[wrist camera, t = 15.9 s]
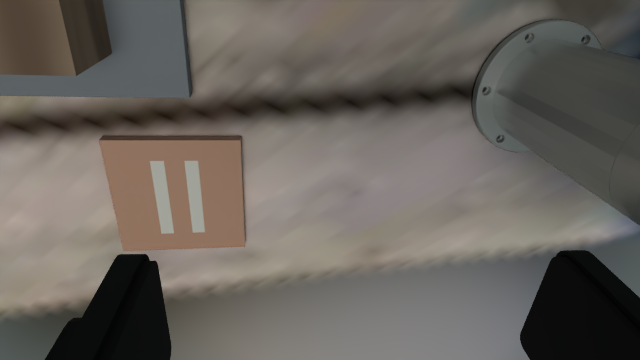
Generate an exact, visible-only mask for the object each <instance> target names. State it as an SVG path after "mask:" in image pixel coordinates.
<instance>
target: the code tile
mask: <svg viewBox="0 0 640 360" xmlns="http://www.w3.org/2000/svg"><path fill="white" fill-rule="evenodd" d="M99 143H100V147H101V152H102V156H103V161H104V165H105V170H106V174H107V179H108V183H109V188H110V192H111V197H112V201H113V206H114V210H115V215H116V219H117V224H118V228H119V233H120V237H121V242H122V246H123V251H140V250H166V249H193V248H220V247H245V222H244V198H243V174H242V149H241V136H103V137H102V138H101V139H100V140H99Z"/></svg>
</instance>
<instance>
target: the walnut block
mask: <svg viewBox="0 0 640 360" xmlns="http://www.w3.org/2000/svg"><path fill="white" fill-rule="evenodd" d="M111 54H112V49H111V44H110V38H109V33H108V27H107V22H106V16H105V11H104V5H103V0H0V74H2V75H47V76H77V75H79V74H81V73H82V72H84V71H85V70H87V69H89V68H90V67H92V66H93V65H95V64H97V63H98V62H100V61H101V60H103V59H105V58H106V57H108V56H109V55H111Z"/></svg>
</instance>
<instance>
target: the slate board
mask: <svg viewBox="0 0 640 360" xmlns="http://www.w3.org/2000/svg"><path fill="white" fill-rule="evenodd" d="M103 5H104V11H105V16H106V22H107V27H108V33H109V38H110V44H111V49H112V54H111V55H109V56H108V57H106V58H105V59H103V60H101V61H100V62H98V63H97V64H95V65H93V66H92V67H90V68H89V69H87V70H85V71H84V72H82V73H81V74H79V75H77V76H47V75H2V74H0V96H64V97H135V98H190V96H191V94H192V86H191V76H190V66H189V55H188V45H187V35H186V25H185V14H184V4H183V0H103Z"/></svg>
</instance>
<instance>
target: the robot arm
mask: <svg viewBox="0 0 640 360" xmlns="http://www.w3.org/2000/svg"><path fill="white" fill-rule="evenodd" d="M525 36H526V37H525ZM483 88H484V89H483ZM472 108H473V116H474V119H475V122H476V125H477V127H478V129H479V130H480V132H481V134H482V135H484V136H485V137H486V138H487V139H488V140H489V141H490V142H491V143H492V144H494V145H495V146H497V147H499V148H501V149H504V150H507V151H512V152H530V151H533V152H534V153H536V154H537V155H539V156H540V157H542V158H543V159H544V160H546V161H547V162H549V163H550V164H552V165H553V166H554V167H556V168H557V169H559V170H560V171H562V172H563V173H565V174H566V175H567V176H569V177H570V178H572V179H573V180H575V181H576V182H577V183H579V184H580V185H582V186H583V187H585V188H586V189H588V190H589V191H590V192H592V193H593V194H595V195H596V196H598V197H599V198H600V199H602V200H603V201H605V202H606V203H608V204H609V205H611V206H612V207H613V208H615V209H616V210H618V211H619V212H621V213H622V214H624V215H625V216H627V217H628V218H630V219H631V220H633V221H634V222H636V223H637V224H639V225H640V59H636V58H633V57H629V56H625V55H621V54H617V53H613V52H609V51H605V50H602V47H601V44H600V42H599V41H598V39H597V38H596V36H595V35H594V34H593V33H592V32H591V31H590V30H589V29H587V28H586V27H585V26H582V25H580V24H578V23H576V22H571V21H567V20H557V19H549V20H543V21H538V22H535V23H532V24H530V25H527V26H525V27H523V28H521V29H519V30H518V31H516V32H514V33H512V34H511V35H510V36H509V37H508V38H506V39H505V40H504V41H503V42H501V43H500V44H499V46H498V47H497V48H496V49H495V50H494V51H493V52H492V53H491V55H490V56H489V57H488V59H487V60H486V62H485V63H484V65H483V67H482V69H481V71H480V73H479V75H478V77H477V80H476V84H475V87H474V91H473V99H472ZM520 340H521V344H522V347H523V349H524V351H525V352H526V354H527V355H528V357H529V359H530V360H640V298H639V297H638V296H637V295H636V294H635V293H634V292H633V291H632V290H631V289H630V288H628V287H627V286H626V285H625V284H624V283H623V282H622V281H621V280H620V279H619V278H618V277H617V276H616V275H614V274H613V273H612V272H611V271H610V270H609V269H608V268H607V267H606V266H605V265H604V264H602V262H600V261H599V260H598V259H597V258H596V257H595V256H594V255H593V254H592V253H590V252H589V251H585V250H571V251H560V252H559V253H558V254H557V255H556V257H554V258H552V260H551V261H550V263H549V266H548V268H547V270H546V273H545V275H544V278H543V280H542V282H541V285H540V287H539V290H538V292H537V295H536V297H535V300H534V302H533V304H532V307H531V309H530V312H529V314H528V316H527V319H526V321H525V323H524V326H523V329H522V331H521V334H520ZM170 356H171V340H170V334H169V328H168V323H167V317H166V311H165V305H164V299H163V293H162V287H161V281H160V275H159V269H158V264H157V262H156V261H149V257H148V256H147V255H146V254H120V255H118V256H117V257H116V258H115V260H114V262H113V263H112V265H111V267H110V269H109V270H108V272H107V274H106V276H105V278H104V279H103V281H102V283H101V285H100V286H99V288H98V290H97V292H96V293H95V295H94V297H93V299H92V301H91V302H90V304H89V306H88V308H87V309H86V311H85V313H84V315H83V317H82V318H73V319H72V320H70V321H69V322H68V323H67V324H66V326H65V327H64V328H63V330H62V332H61V333H60V335H59V337H58V338H57V340H56V342H55V344H54V345H53V347H52V349H51V350H50V352H49V354H48V355H47V357H46V359H45V360H170Z"/></svg>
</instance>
